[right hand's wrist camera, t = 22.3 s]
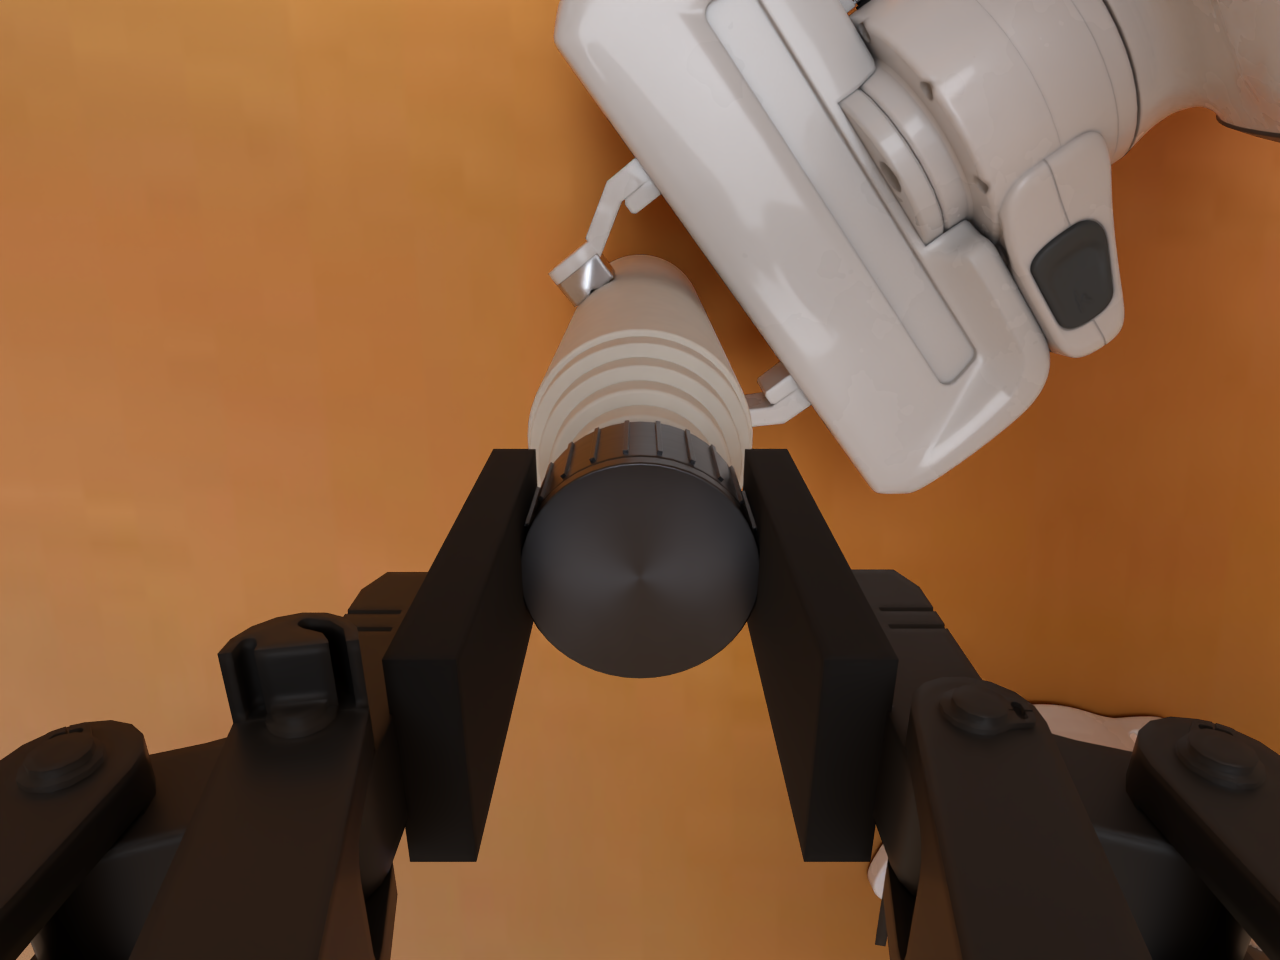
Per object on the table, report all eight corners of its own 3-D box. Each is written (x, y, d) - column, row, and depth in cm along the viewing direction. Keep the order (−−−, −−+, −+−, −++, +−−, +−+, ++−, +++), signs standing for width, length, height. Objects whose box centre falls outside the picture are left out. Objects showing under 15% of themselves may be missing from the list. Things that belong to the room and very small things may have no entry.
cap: (495, 465, 14) (471, 514, 12) (703, 383, 13) (714, 420, 11) (584, 641, 15) (576, 711, 13) (777, 573, 15) (798, 635, 13)
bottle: (594, 386, 36) (526, 714, 14) (566, 268, 34) (437, 439, 12) (710, 362, 35) (821, 663, 14) (688, 242, 34) (776, 369, 12)
